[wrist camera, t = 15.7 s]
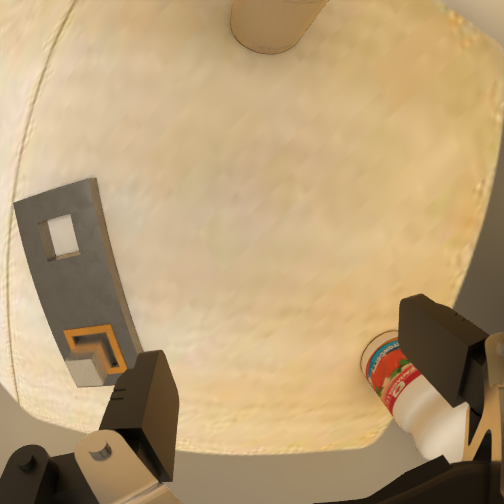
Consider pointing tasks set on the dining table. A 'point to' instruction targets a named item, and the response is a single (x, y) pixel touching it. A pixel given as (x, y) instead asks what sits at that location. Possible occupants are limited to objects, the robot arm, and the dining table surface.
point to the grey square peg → (90, 360)
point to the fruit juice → (414, 400)
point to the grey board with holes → (78, 273)
